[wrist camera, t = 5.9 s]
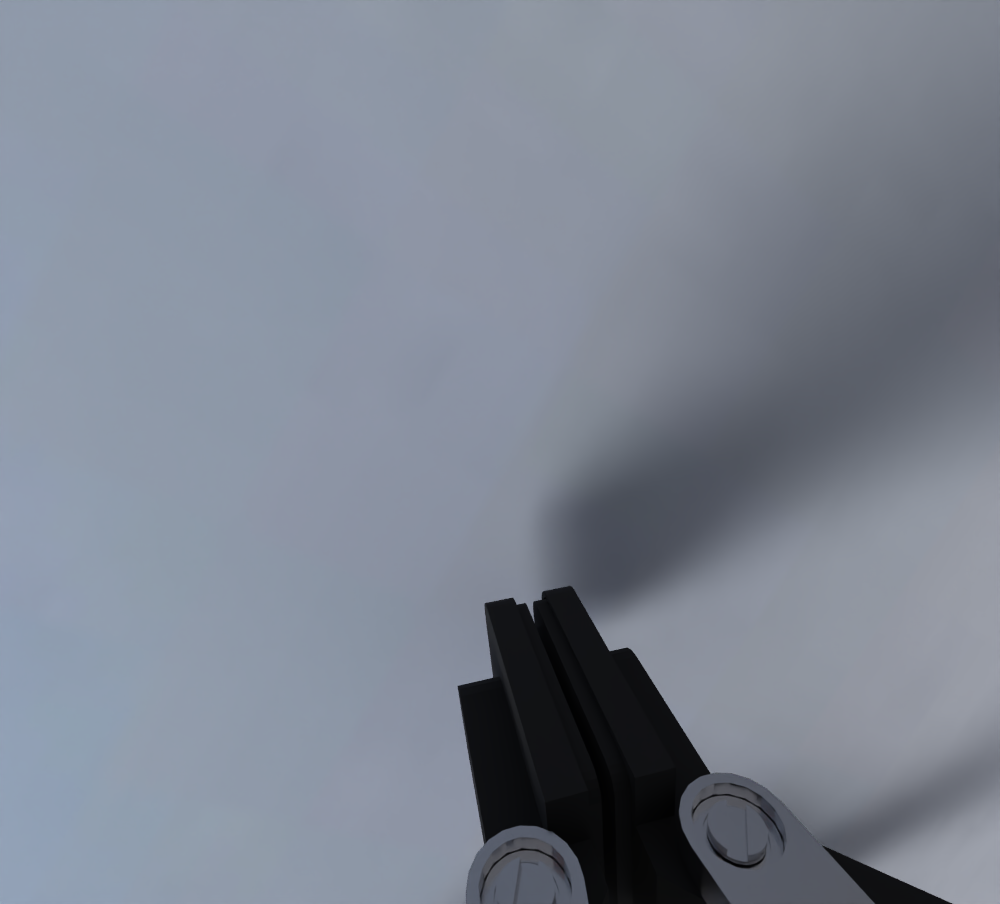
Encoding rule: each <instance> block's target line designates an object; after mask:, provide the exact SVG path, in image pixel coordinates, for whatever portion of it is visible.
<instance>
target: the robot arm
mask: <svg viewBox="0 0 1000 904" xmlns="http://www.w3.org/2000/svg"><path fill="white" fill-rule="evenodd" d="M533 611H534V621H533V619H532V616H531V614H530V611H529V609H528V607H527V605H526V603H524V604H519V605H516V602H515V600H514V598H509V599H504V600H499V601H494V602H489V603H485V615H486V623H487V631H488V639H489V647H490V655H491V663H492V672H493V678H491V679H486V680H482V681H477V682H473V683H469V684H464V685H460V686H458V691H459V698H460V704H461V711H462V717H463V724H464V730H465V736H466V742H467V748H468V754H469V760H470V765H471V771H472V777H473V783H474V788H475V794H476V800H477V805H478V811H479V817H480V822H481V828H482V834H483V840H484V846H483V847H482V848H481V849H480V851H479V852H478V853H477V854H476V857H475V859H474V861H473V863H472V865H471V868H470V870H469V873H468V880H467V887H466V904H952V903H950V902H947V901H945V900H943V899H941V898H938V897H936V896H934V895H932V894H929V893H927V892H925V891H923V890H920V889H918V888H916V887H914V886H912V885H909V884H907V883H905V882H903V881H900V880H898V879H896V878H894V877H891V876H889V875H887V874H885V873H882V872H880V871H878V870H876V869H874V868H871V867H869V866H867V865H865V864H862V863H860V862H858V861H856V860H853V859H851V858H849V857H847V856H844V855H842V854H840V853H838V852H836V851H833V850H831V849H829V848H827V847H824V846H822V845H821V844H820V843H819V842H818V841H817V840H816V839H815V838H814V837H813V835H812V834H811V833H810V832H809V831H808V830H807V829H806V828H805V827H804V826H803V825H802V823H801V822H800V821H799V820H798V819H797V818H796V817H795V816H794V815H793V814H792V813H791V811H790V810H789V809H788V808H787V807H786V806H785V805H784V804H783V803H782V802H781V801H780V800H779V799H778V798H777V797H776V796H775V795H774V794H772V793H771V792H770V791H769V790H768V789H767V788H765V787H763V786H762V785H760V784H758V783H756V782H754V781H753V780H751V779H749V778H746V777H742V776H739V775H735V774H732V773H712V774H710V772H709V770H708V769H707V767H706V766H705V764H704V763H703V761H702V759H701V758H700V756H699V755H698V753H697V751H696V750H695V748H694V747H693V745H692V744H691V742H690V740H689V739H688V737H687V736H686V734H685V732H684V731H683V729H682V728H681V726H680V725H679V723H678V721H677V720H676V718H675V717H674V715H673V714H672V712H671V710H670V709H669V707H668V706H667V704H666V702H665V701H664V699H663V698H662V696H661V695H660V693H659V691H658V690H657V688H656V687H655V685H654V684H653V682H652V680H651V679H650V677H649V676H648V674H647V672H646V671H645V669H644V668H643V666H642V665H641V663H640V661H639V660H638V658H637V657H636V655H635V654H634V653H633V651H632V650H631V649H629V648H623V649H619V650H614V651H609V650H608V648H607V646H606V644H605V643H604V641H603V639H602V637H601V636H600V634H599V632H598V630H597V629H596V627H595V625H594V624H593V622H592V620H591V618H590V617H589V615H588V613H587V611H586V610H585V608H584V606H583V604H582V603H581V601H580V599H579V597H578V596H577V594H576V592H575V590H574V589H573V588H572V587H571V586H567V587H562V588H558V589H553V590H548V591H543V592H542V600H538V601H534V602H533ZM534 622H535V624H534Z"/></svg>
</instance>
